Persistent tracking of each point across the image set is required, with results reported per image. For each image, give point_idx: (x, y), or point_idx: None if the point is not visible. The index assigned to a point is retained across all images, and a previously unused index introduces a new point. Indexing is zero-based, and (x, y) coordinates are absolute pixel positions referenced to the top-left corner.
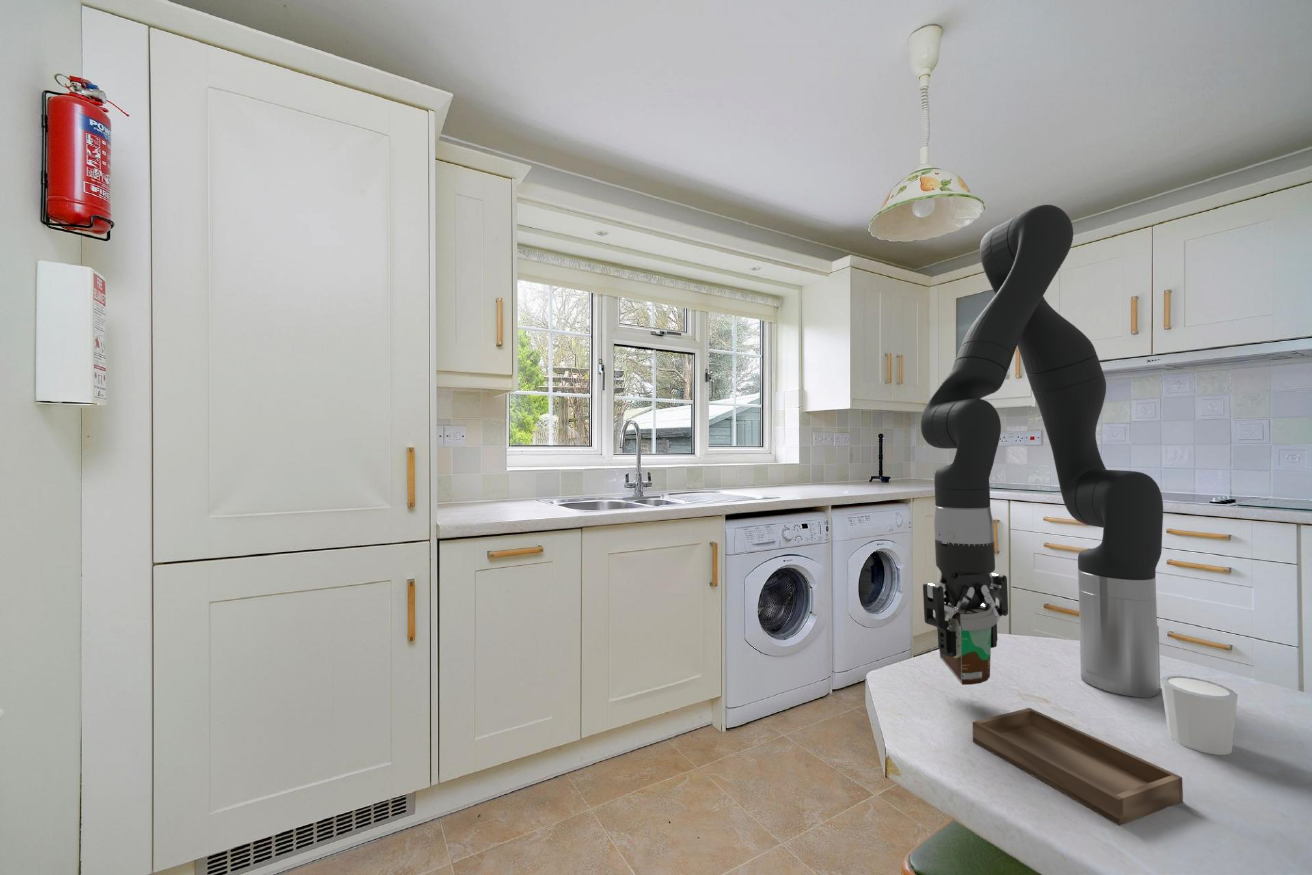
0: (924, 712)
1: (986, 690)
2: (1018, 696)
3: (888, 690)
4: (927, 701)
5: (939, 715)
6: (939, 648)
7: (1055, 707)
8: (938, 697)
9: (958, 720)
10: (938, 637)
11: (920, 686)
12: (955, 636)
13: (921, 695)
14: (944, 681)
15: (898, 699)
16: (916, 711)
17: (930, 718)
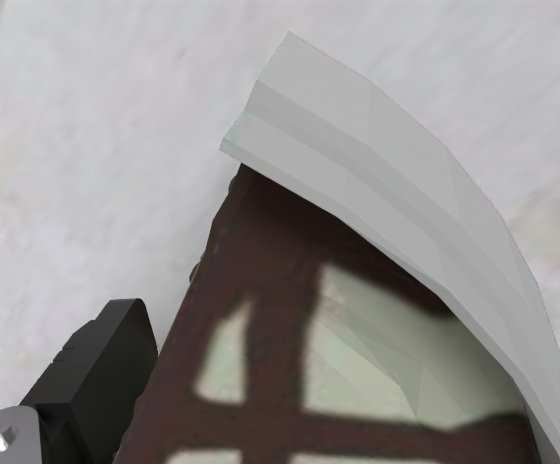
0: (100, 210)
1: (453, 135)
2: (517, 208)
3: (53, 19)
4: (158, 149)
5: (137, 238)
6: (82, 330)
7: (544, 296)
8: (220, 133)
9: (175, 276)
10: (44, 377)
11: (215, 22)
12: (116, 450)
13: (165, 100)
14: (359, 5)
15: (57, 105)
16: (77, 198)
17: (97, 245)
